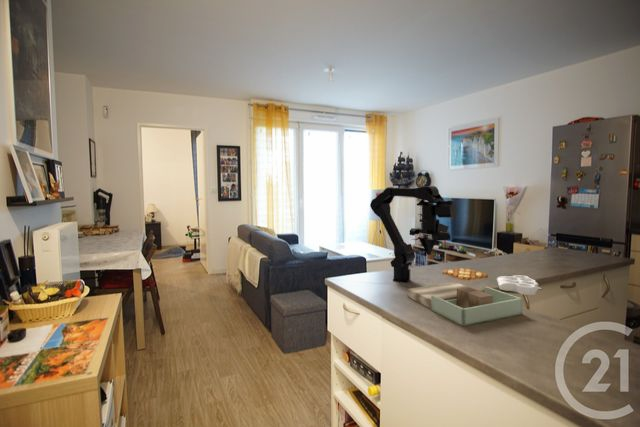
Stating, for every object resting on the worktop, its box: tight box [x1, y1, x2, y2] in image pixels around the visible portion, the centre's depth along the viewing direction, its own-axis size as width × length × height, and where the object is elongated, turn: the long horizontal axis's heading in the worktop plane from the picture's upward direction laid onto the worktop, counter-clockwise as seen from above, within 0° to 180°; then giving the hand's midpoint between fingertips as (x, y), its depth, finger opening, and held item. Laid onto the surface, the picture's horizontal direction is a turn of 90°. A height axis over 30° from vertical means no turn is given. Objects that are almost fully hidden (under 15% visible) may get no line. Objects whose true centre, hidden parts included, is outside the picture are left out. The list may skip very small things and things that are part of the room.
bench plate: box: [407, 281, 468, 309], centre depth 120 cm, size 14×22×3 cm, turn 111°
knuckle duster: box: [496, 274, 543, 296], centre depth 131 cm, size 3×18×15 cm
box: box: [430, 286, 523, 327], centre depth 107 cm, size 14×24×5 cm, turn 111°
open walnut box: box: [457, 286, 493, 309], centre depth 107 cm, size 6×5×10 cm
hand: (428, 254), depth 135 cm, fingers closed
